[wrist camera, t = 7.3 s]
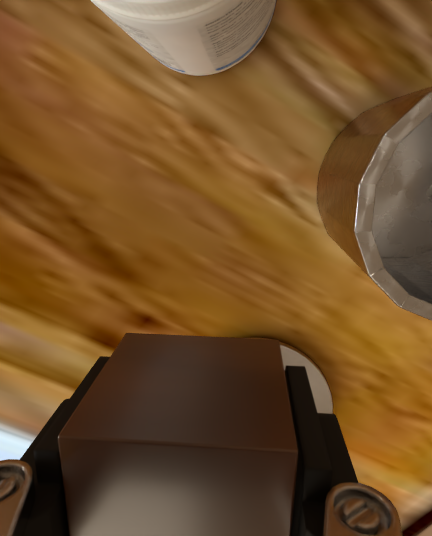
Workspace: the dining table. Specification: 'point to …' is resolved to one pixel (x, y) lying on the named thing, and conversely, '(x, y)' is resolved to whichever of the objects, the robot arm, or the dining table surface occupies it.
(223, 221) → the dining table surface
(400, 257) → the steel jar
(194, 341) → the walnut block
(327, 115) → the dining table surface
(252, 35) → the supplement tub
